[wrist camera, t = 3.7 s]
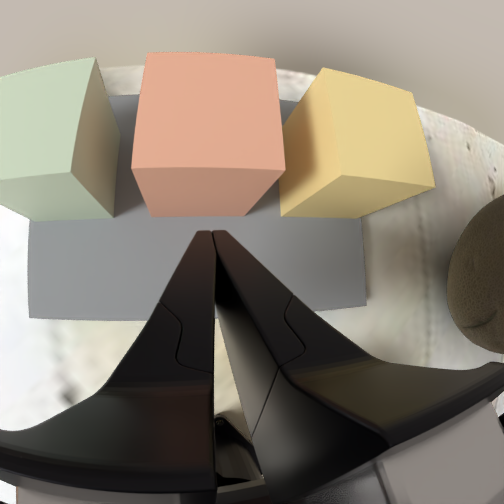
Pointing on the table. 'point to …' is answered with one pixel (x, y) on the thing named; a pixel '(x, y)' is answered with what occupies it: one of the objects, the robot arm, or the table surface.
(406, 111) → the mustard block
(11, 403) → the table surface
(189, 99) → the terracotta block
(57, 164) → the sage block
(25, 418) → the table surface
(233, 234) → the grey mat
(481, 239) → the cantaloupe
